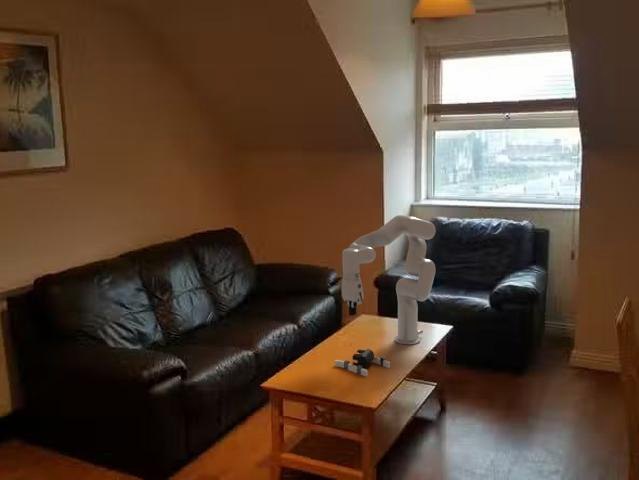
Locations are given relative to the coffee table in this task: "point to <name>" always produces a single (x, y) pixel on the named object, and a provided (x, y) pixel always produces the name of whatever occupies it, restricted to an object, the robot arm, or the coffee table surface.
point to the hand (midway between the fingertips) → (352, 314)
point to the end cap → (363, 358)
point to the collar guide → (359, 368)
